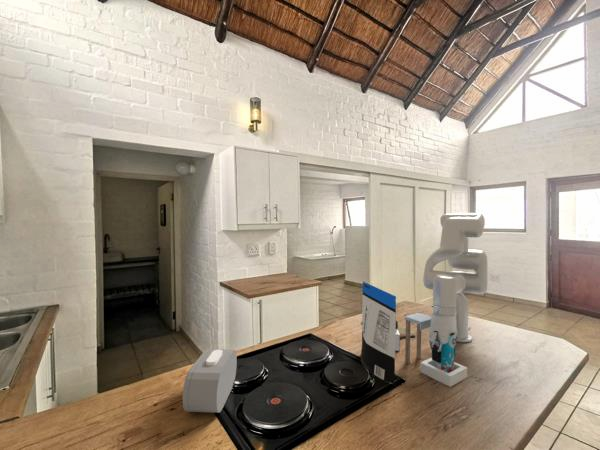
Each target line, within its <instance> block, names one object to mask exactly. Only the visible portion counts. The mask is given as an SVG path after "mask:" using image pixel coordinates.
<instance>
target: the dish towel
mask: <svg viewBox="0 0 600 450" xmlns="http://www.w3.org/2000/svg"><path fill="white" fill-rule="evenodd" d="M361 324H362V321H361ZM398 331H399V334H400V340H406V328H404V327H403V326H401V325H400V324H398ZM411 338H412V339H413V338H414V339H415V338H416V335H414V334H413V333H411V332H410V339H411Z"/></svg>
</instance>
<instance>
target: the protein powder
mask: <svg viewBox="0 0 600 450" xmlns="http://www.w3.org/2000/svg"><path fill="white" fill-rule="evenodd" d="M361 299H362V303H361V304H362V308H361V309H362V311H361V312H362V314H361V316H362V317H361V319H362V320H361V322H362V323H361V324H362V327H361V328H362V329H361V333H362V334H361V353H360V358H361V359H360V362H361V363H362V364H361V363H360V364H361V366H362V365H363V366H364V367H366V368H367V369H368V370H369V372H370V374H369V375H371V376H372V375H373V376H372V377H374V378H376V379H377V378H378V379H377V380H379V379H380V380H379V381H381V380H383V381H387V382H391V383H393V384H394V386H395V387H396V379H395V378H396V376H395V375H396V371H395V370H396V369H395V368H396V367H395V366H396V364H395V363H396V351H395V331H396V321H397V318H396V317H397V316H396V314H397V301H396V300H397V296H396V295H394V294H391V293H390V292H387V291H385V290H383V289H381V288H378V287H377V286H374V285H373V284H369V283H367V282H365V281H362V298H361ZM363 366H362V367H363ZM364 367H363V368H364ZM383 381H382V382H383ZM394 386H393V387H394Z"/></svg>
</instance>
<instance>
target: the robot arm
mask: <svg viewBox="0 0 600 450" xmlns="http://www.w3.org/2000/svg"><path fill="white" fill-rule="evenodd" d="M439 220H440V226H441V228H442V230H441V236H440V244H439V247H438V248H437V249H436V250H435V251H434V252H432V254H430V255H429V257H428V258H427V260H426V261H425V265H424V271H423V278H422V279H423V280H422V282H423V286H424V287H425V288H426V289H428V290H431V291H432V314H431V316H432V318H431V325H430V327H429V339H428V342H429V346H430V349H431V358H432V360H434V361H436V362H438V363H441V351H440V350H441V347H442V345H443V344H446V343H448V341H449V337H450V334H454V333H455V334H454V335H455V339H454V357H456V345H457V343H470V342H471V341H472V340H473V337H472V335H470V334H469V331H471V330H472V327H471V326H469V306H470V305H469V304H470V303H469V300H468V298H467V297H466V296H465V294H466V293H467V294H475V295H484V294H486V293H487V290H488V256H487V254H486V252H485V251H484V250H481V249H480V250H479V249H469V238H480V237H482V235H483V233H484V229H485V221H486V220H485V216H484V215H483V214H482V213H480V212H463V213H462V212H459V213H458V212H453V213H452V212H451V213H450V212H449V213H445V214H442V215H441V216H440V219H439ZM445 261H447V263H448V266H449V267H451V268H452V269H457V270H450V271H443V270H434V268H435V267H436V266H437V265H438V264H440V263H441V262H445ZM459 270H460V271H459ZM461 270H467V271H468V270H469V271H473V272H467V271H461ZM437 340H439V341H440V342H438V341H437ZM436 343H437V344H439V345H438V347H437V345H436Z"/></svg>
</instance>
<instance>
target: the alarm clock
mask: <svg viewBox="0 0 600 450" xmlns="http://www.w3.org/2000/svg"><path fill="white" fill-rule="evenodd" d="M237 358H238V357H237V351H236V349H223V348H222V349H221V348H220V349H219V348H218V349H217V348H216V349H215V348H207V349H205V350H204V351H203V352H202V353H201V354H200V356H199V357H198V358H197V360H196V361H195V362H194V363H193V365H191V367H190V368H189V370H188V371H187V373H186V376H185V378H184V383H183V388H182V401H181V402H182V407H183V410H184V411H185V412H192V413H214V414H215V413H217V414H218V413H221V412H222V410H223V408H224V406H225V404H226V402H227V400H228V398H229V396H230V393H231V392H232V389H233V387H234V384H233V382H234V383H235V381H236V375H237V366H238V365H237V363H238V361H237ZM234 380H235V381H234Z"/></svg>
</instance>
